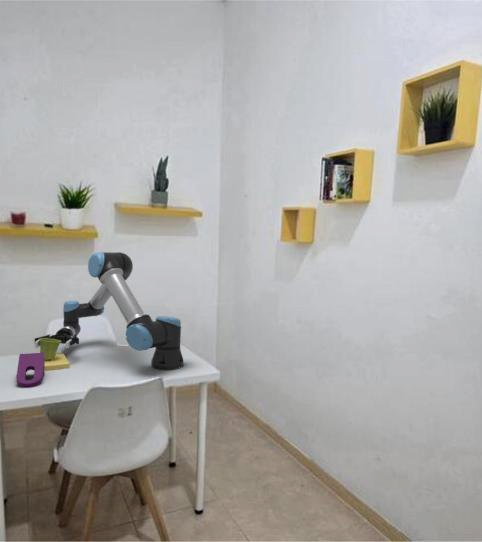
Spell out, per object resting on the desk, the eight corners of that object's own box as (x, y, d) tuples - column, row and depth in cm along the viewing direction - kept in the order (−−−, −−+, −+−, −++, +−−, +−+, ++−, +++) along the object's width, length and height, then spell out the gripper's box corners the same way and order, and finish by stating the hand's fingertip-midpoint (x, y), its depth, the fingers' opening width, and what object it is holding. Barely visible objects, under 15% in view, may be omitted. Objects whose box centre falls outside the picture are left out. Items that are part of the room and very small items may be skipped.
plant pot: (40, 355, 199) (44, 337, 200) (60, 358, 200) (64, 340, 201) (32, 358, 190) (36, 339, 191) (53, 361, 191) (56, 342, 191)
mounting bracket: (42, 397, 170) (44, 367, 185) (41, 382, 166) (44, 352, 181) (16, 400, 167) (20, 369, 181) (14, 384, 163) (19, 353, 177)
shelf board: (69, 367, 191) (69, 363, 191) (40, 371, 184) (40, 366, 184) (62, 356, 208) (62, 352, 208) (35, 359, 202) (35, 355, 201)
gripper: (90, 342, 215) (79, 353, 193) (39, 341, 212) (22, 353, 191) (91, 327, 214) (79, 337, 193) (39, 327, 211) (22, 336, 190)
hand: (51, 345), depth 192 cm, fingers open, 13 cm apart
